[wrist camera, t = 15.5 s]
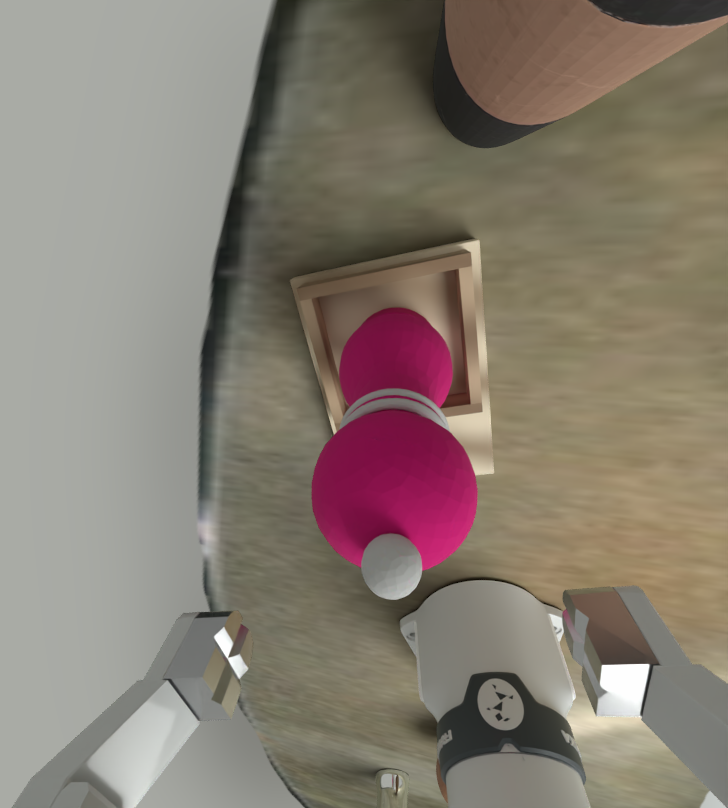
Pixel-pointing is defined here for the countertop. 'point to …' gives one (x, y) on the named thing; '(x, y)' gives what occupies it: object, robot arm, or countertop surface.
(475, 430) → the mill holder
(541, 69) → the travel mug
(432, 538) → the pepper mill
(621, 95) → the countertop surface
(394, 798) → the beer glass
